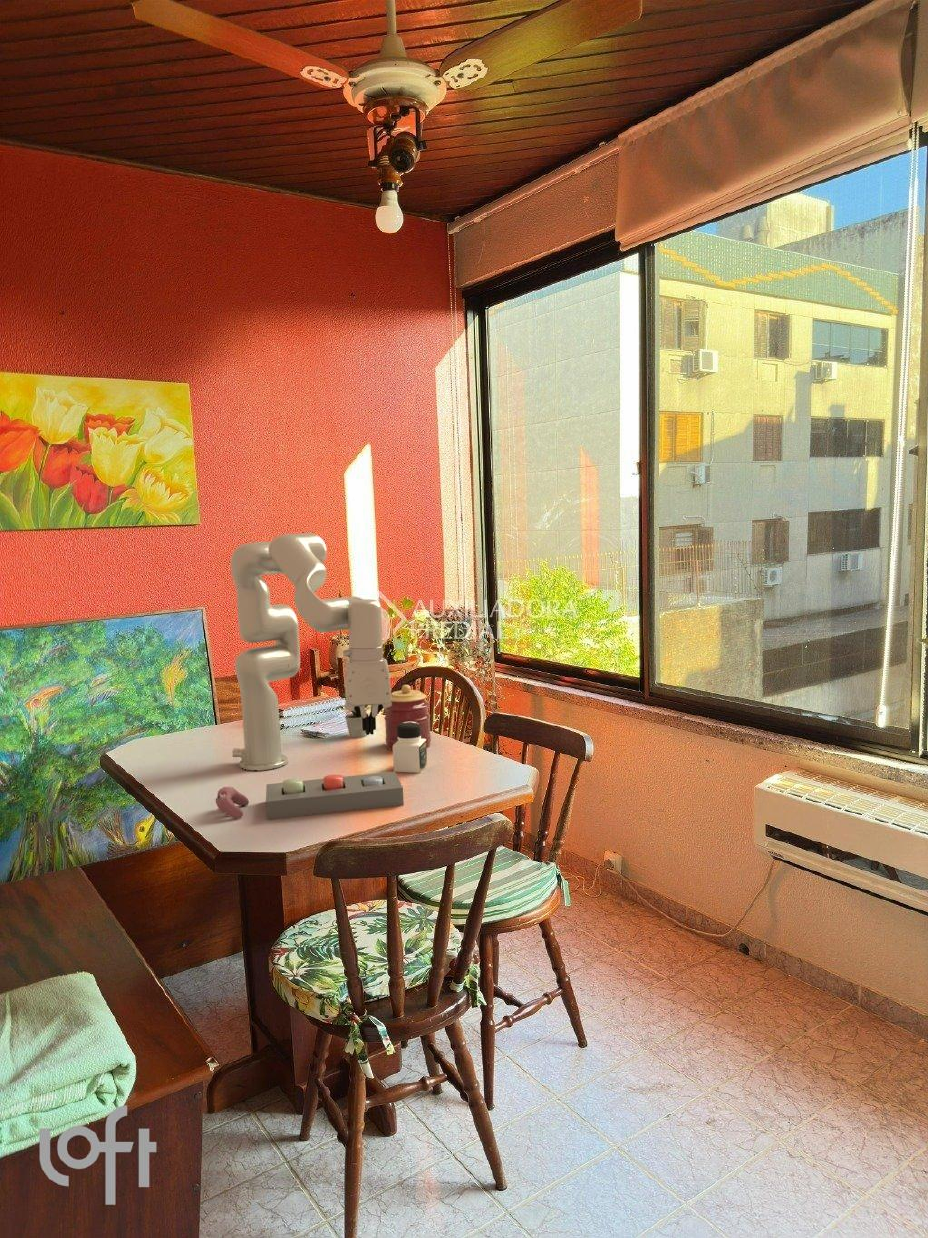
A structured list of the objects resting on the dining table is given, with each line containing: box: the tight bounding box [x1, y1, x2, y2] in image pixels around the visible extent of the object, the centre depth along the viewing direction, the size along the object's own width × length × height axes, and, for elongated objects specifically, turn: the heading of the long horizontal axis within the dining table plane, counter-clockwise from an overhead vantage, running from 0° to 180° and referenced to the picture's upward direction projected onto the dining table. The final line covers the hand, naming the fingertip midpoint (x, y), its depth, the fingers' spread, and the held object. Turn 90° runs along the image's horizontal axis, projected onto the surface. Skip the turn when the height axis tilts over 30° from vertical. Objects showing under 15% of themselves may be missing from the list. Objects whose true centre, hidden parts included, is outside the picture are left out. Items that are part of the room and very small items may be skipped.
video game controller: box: [215, 785, 250, 819], centre depth 190 cm, size 10×5×7 cm, turn 6°
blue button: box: [363, 776, 383, 786], centre depth 196 cm, size 4×4×3 cm
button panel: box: [265, 771, 405, 820], centre depth 194 cm, size 30×13×4 cm, turn 102°
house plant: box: [333, 684, 371, 739], centre depth 255 cm, size 14×14×16 cm
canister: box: [383, 684, 432, 751], centre depth 241 cm, size 13×13×18 cm
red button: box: [322, 774, 344, 790], centre depth 193 cm, size 4×4×3 cm
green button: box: [282, 778, 304, 794], centre depth 192 cm, size 4×4×3 cm
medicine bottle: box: [392, 722, 428, 774], centre depth 218 cm, size 7×7×12 cm
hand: (369, 733), depth 194 cm, fingers closed
